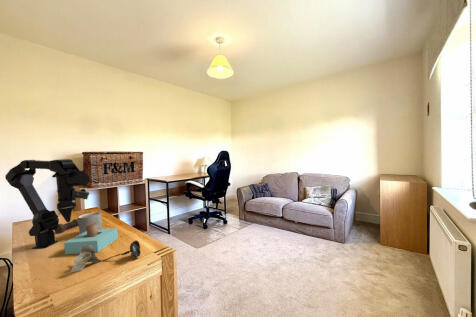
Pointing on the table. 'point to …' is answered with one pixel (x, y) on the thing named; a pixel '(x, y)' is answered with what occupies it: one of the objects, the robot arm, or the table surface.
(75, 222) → the bolt
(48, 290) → the table surface
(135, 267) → the table surface
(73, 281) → the table surface
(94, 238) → the socket block
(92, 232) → the walnut dowel
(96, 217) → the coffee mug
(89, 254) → the artificial flower
